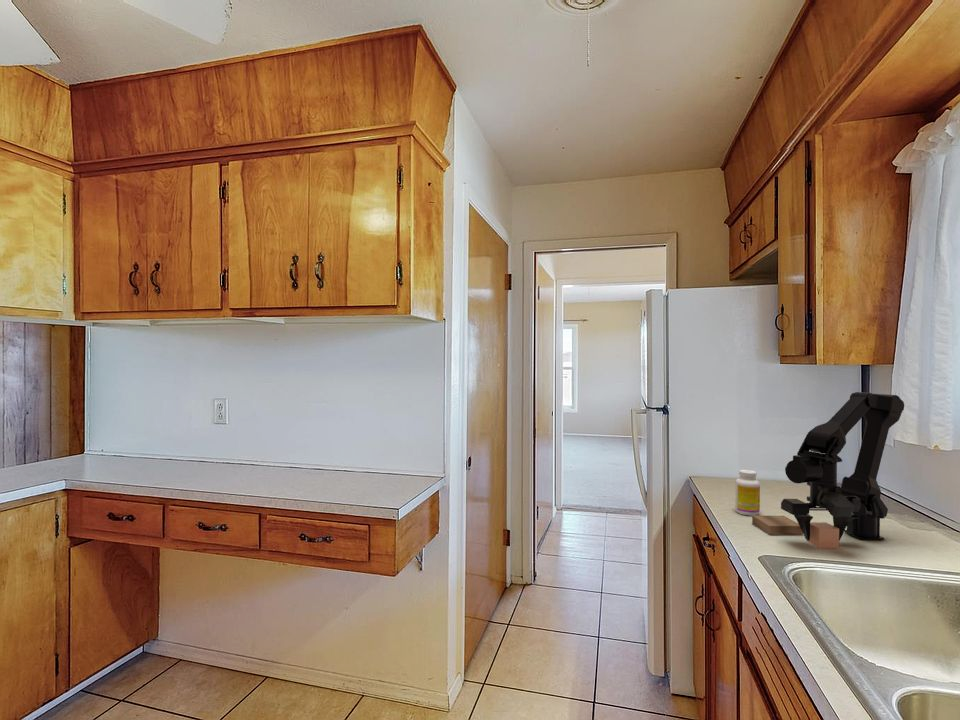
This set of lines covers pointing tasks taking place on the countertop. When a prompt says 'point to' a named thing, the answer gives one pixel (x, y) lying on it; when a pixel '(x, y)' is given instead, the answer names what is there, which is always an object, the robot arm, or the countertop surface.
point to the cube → (824, 535)
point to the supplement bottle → (747, 493)
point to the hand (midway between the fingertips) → (822, 540)
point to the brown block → (777, 525)
